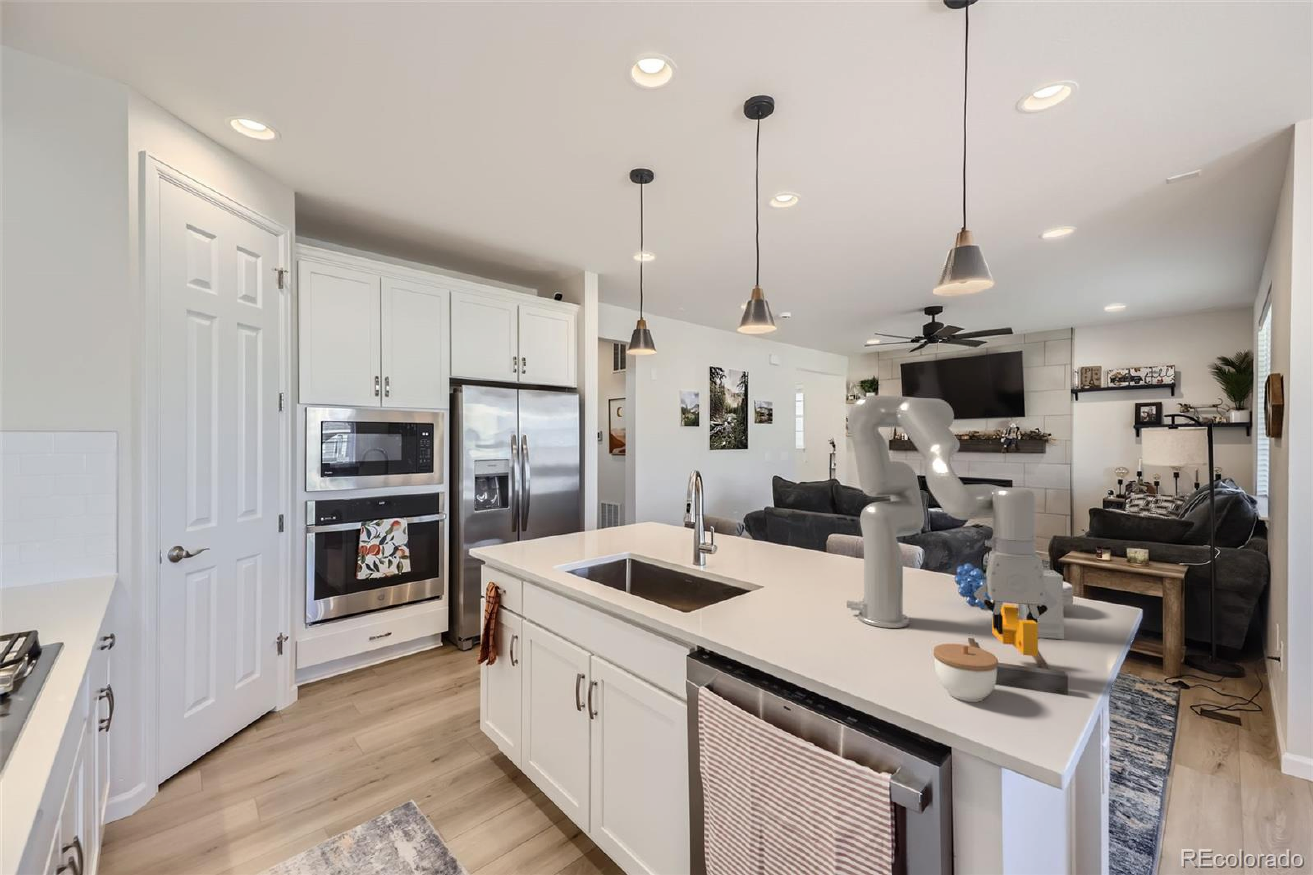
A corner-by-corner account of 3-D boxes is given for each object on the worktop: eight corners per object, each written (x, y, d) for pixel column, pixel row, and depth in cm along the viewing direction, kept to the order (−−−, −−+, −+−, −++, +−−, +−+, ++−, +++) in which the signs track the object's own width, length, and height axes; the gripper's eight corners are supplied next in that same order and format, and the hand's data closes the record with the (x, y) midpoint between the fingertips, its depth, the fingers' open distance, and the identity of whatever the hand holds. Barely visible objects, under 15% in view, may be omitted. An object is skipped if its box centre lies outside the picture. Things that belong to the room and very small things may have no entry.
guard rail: (980, 681, 110) (980, 664, 110) (965, 640, 132) (965, 626, 132) (1067, 694, 105) (1067, 676, 105) (1036, 649, 127) (1036, 634, 127)
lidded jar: (1003, 713, 98) (1003, 660, 98) (935, 701, 102) (935, 651, 102) (992, 687, 108) (992, 639, 108) (931, 678, 112) (931, 632, 112)
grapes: (944, 601, 163) (944, 561, 163) (961, 599, 166) (961, 559, 166) (978, 613, 152) (978, 570, 152) (996, 611, 155) (996, 568, 155)
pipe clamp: (992, 632, 122) (991, 603, 122) (1014, 634, 121) (1014, 605, 121) (1013, 654, 110) (1013, 622, 110) (1038, 656, 109) (1037, 623, 109)
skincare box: (1055, 631, 138) (1055, 569, 138) (1065, 641, 132) (1065, 576, 132) (1016, 628, 141) (1016, 567, 141) (1024, 636, 135) (1024, 573, 135)
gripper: (970, 547, 115) (970, 634, 115) (1068, 553, 109) (1069, 645, 108) (965, 541, 122) (966, 623, 122) (1057, 546, 115) (1058, 633, 115)
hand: (1014, 633), depth 115 cm, fingers closed on pipe clamp, 4 cm apart
